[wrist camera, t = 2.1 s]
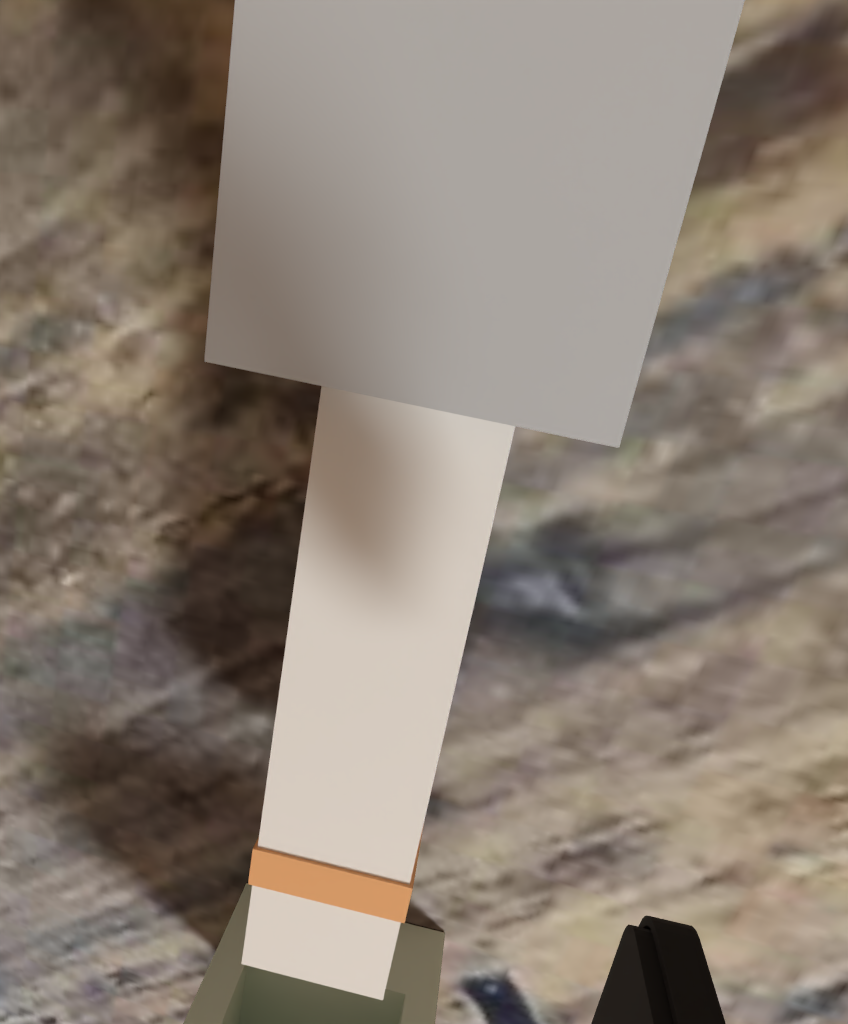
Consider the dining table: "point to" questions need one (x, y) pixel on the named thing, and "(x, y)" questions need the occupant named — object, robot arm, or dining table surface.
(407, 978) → the socket
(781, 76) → the dining table surface
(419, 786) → the orange-striped white bar
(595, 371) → the grey block
